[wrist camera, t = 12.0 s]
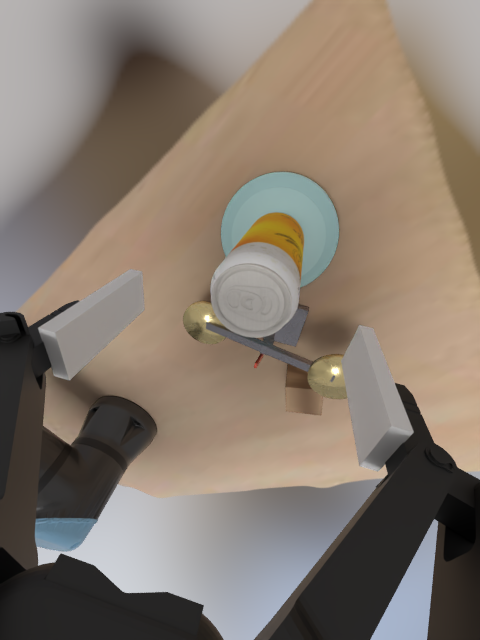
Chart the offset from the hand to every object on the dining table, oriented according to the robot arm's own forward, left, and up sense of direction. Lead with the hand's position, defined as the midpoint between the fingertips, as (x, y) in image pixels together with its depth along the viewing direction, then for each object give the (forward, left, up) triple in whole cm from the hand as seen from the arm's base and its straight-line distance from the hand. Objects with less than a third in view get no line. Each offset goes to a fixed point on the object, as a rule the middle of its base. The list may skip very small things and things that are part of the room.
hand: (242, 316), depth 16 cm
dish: (0, 0, -18) cm, 18 cm away
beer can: (0, 0, -17) cm, 17 cm away
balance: (+2, -11, -18) cm, 21 cm away
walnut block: (+9, -20, -18) cm, 28 cm away
